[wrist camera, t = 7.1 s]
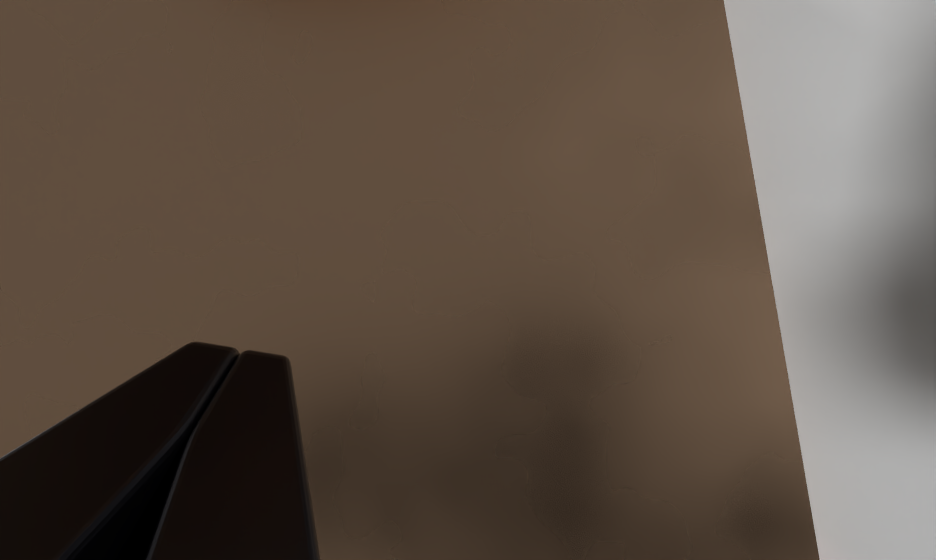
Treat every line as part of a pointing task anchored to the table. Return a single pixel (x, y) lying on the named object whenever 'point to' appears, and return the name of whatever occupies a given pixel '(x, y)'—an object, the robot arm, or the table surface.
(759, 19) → the table surface
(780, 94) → the table surface
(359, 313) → the housing
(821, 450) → the table surface
